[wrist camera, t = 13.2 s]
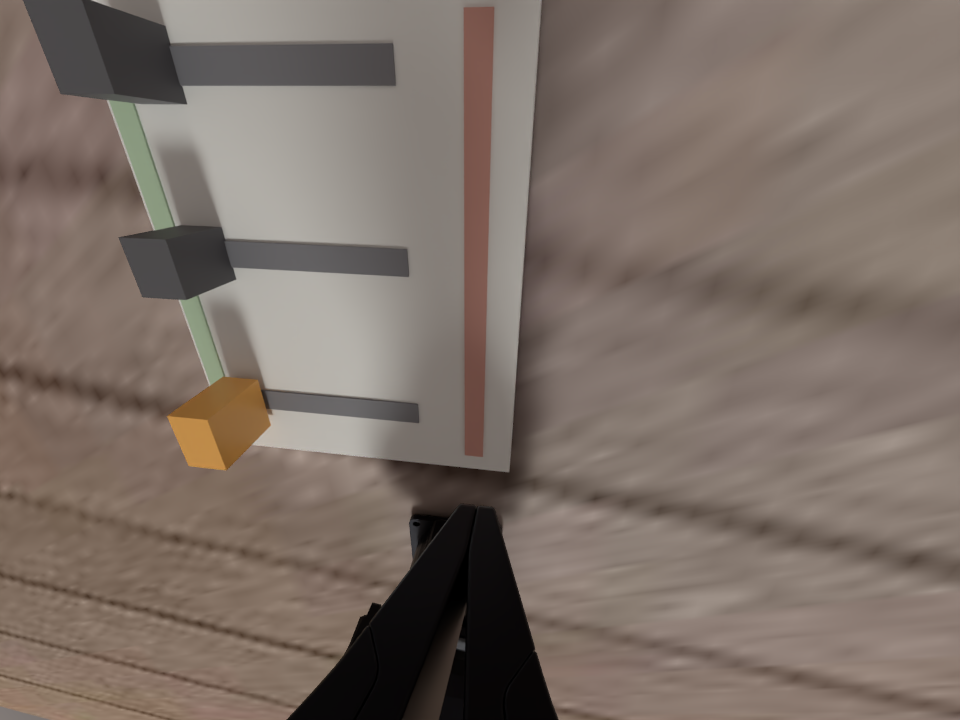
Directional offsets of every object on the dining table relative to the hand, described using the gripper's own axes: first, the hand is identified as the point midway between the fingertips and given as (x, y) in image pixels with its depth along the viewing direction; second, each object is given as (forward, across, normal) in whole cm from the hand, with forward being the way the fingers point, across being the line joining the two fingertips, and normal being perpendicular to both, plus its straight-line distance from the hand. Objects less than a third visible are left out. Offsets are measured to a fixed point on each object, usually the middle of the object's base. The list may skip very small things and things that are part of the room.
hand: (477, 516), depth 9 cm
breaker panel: (+12, +8, -2) cm, 15 cm away
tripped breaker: (+10, +14, +5) cm, 18 cm away
